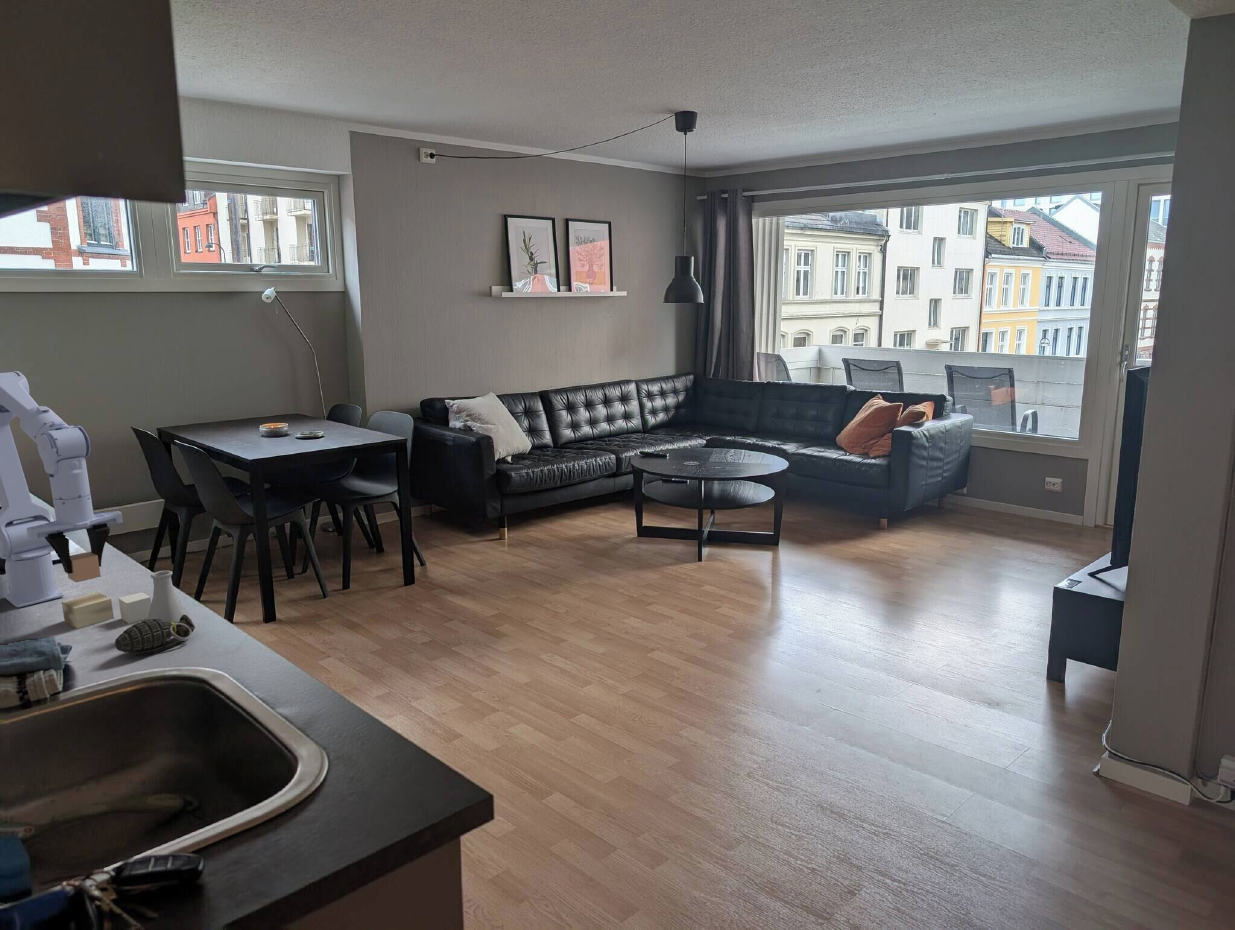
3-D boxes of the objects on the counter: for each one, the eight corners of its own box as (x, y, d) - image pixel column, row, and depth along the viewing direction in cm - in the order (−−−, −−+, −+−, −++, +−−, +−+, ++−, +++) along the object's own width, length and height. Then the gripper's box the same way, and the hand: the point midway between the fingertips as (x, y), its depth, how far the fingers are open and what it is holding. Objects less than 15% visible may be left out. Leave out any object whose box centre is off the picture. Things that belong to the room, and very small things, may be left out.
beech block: (64, 622, 155) (61, 601, 154) (100, 612, 159) (97, 591, 158) (77, 629, 151) (74, 608, 150) (114, 619, 155) (111, 598, 155)
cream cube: (121, 618, 155) (118, 598, 154) (144, 612, 158) (141, 592, 157) (129, 624, 153) (126, 603, 152) (153, 617, 156) (150, 597, 155)
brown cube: (68, 577, 154) (65, 556, 153) (93, 572, 157) (89, 551, 156) (75, 582, 151) (72, 561, 150) (100, 576, 154) (97, 555, 153)
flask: (172, 636, 147) (164, 581, 145) (135, 633, 148) (128, 579, 146) (200, 620, 154) (193, 567, 152) (165, 618, 155) (158, 565, 153)
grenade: (115, 622, 136) (186, 602, 146) (106, 641, 139) (176, 620, 149) (134, 652, 134) (204, 630, 145) (124, 671, 137) (194, 648, 147)
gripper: (31, 507, 143) (43, 584, 146) (124, 491, 153) (134, 563, 156) (18, 501, 147) (31, 576, 150) (110, 486, 158) (120, 556, 161)
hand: (83, 569), depth 153 cm, fingers closed on brown cube, 4 cm apart
